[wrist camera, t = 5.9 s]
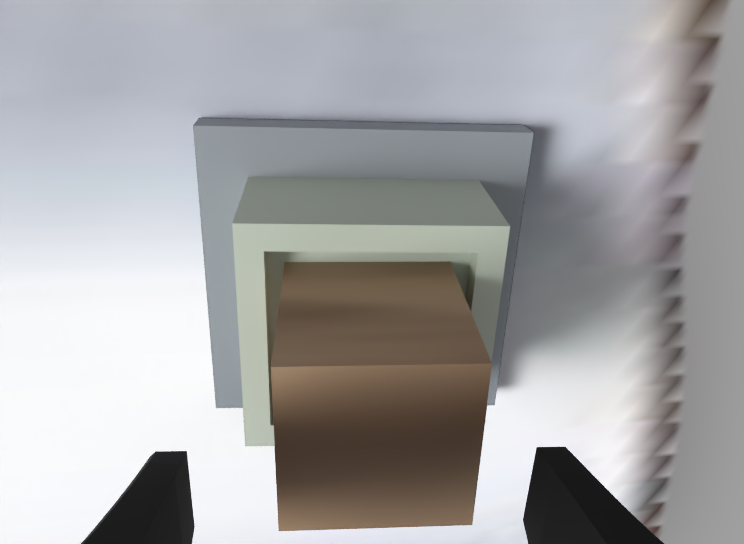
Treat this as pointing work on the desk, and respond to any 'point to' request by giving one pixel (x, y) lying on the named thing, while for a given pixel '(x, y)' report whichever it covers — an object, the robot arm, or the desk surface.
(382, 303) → the walnut block
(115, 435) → the desk surface
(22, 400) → the desk surface
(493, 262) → the socket base
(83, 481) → the desk surface
